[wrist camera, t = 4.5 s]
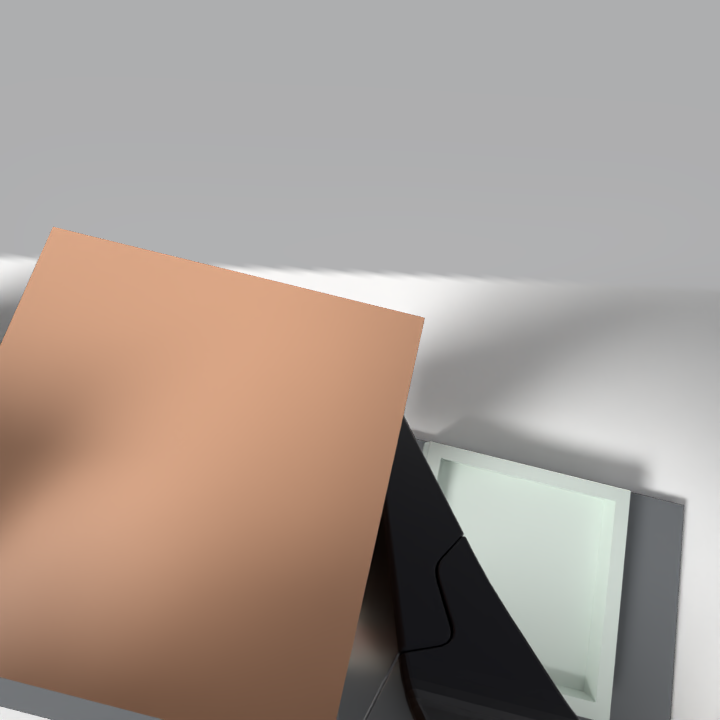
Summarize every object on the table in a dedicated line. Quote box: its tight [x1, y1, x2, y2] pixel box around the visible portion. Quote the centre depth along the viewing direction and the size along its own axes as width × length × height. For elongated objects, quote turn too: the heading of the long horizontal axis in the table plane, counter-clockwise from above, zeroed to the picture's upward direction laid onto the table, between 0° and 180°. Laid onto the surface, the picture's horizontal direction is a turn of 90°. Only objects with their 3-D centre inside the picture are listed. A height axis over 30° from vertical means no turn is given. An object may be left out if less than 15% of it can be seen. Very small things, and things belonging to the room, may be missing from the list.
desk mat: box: [0, 439, 684, 720], centre depth 20 cm, size 14×28×1 cm, turn 76°
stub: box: [0, 227, 425, 720], centre depth 10 cm, size 4×4×12 cm
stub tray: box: [423, 441, 631, 720], centre depth 19 cm, size 9×9×2 cm
